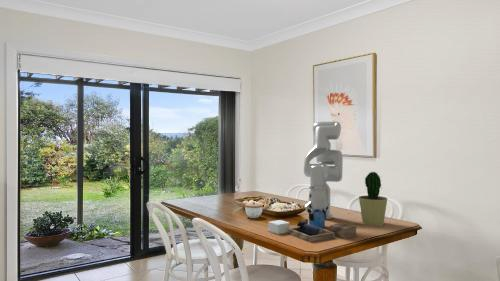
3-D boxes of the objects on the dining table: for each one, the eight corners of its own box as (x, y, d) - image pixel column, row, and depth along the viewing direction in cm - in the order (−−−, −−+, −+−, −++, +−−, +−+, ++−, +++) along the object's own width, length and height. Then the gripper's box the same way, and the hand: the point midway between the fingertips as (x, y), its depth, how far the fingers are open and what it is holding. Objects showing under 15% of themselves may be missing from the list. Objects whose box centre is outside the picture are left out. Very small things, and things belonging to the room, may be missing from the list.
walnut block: (330, 235, 183) (330, 225, 183) (341, 232, 189) (341, 222, 189) (345, 239, 176) (345, 228, 176) (356, 235, 182) (356, 225, 182)
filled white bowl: (252, 219, 219) (252, 204, 219) (241, 216, 227) (241, 201, 227) (266, 217, 226) (266, 202, 226) (254, 214, 234) (254, 199, 234)
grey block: (268, 231, 192) (268, 221, 192) (280, 229, 197) (280, 219, 197) (277, 234, 186) (277, 224, 186) (289, 232, 190) (289, 222, 190)
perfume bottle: (314, 224, 206) (314, 203, 206) (324, 226, 202) (324, 204, 202) (309, 226, 201) (309, 204, 201) (319, 228, 197) (319, 206, 197)
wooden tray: (288, 233, 187) (288, 228, 187) (311, 229, 194) (311, 225, 194) (310, 242, 171) (310, 236, 171) (334, 237, 178) (334, 232, 178)
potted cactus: (374, 219, 218) (374, 169, 218) (393, 225, 204) (393, 171, 203) (353, 221, 212) (353, 170, 212) (371, 227, 198) (370, 172, 198)
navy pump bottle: (297, 236, 187) (317, 242, 178) (296, 222, 185) (316, 227, 177) (307, 230, 193) (327, 235, 185) (306, 216, 192) (326, 220, 183)
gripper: (309, 190, 194) (309, 223, 194) (334, 187, 202) (334, 219, 202) (300, 188, 200) (300, 220, 200) (325, 186, 209) (325, 216, 209)
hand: (317, 219), depth 201 cm, fingers closed on perfume bottle, 8 cm apart
